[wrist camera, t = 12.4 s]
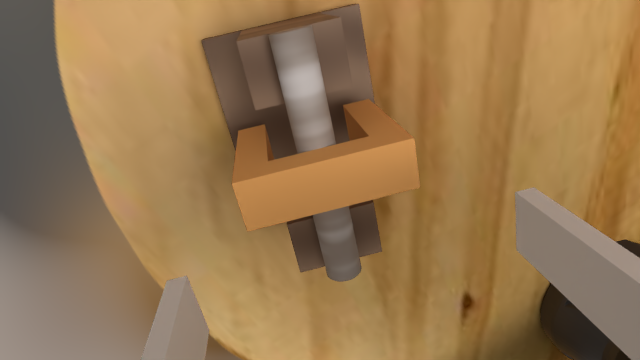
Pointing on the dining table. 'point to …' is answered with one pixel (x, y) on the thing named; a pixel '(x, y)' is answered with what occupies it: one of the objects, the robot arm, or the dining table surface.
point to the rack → (302, 114)
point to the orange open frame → (324, 170)
